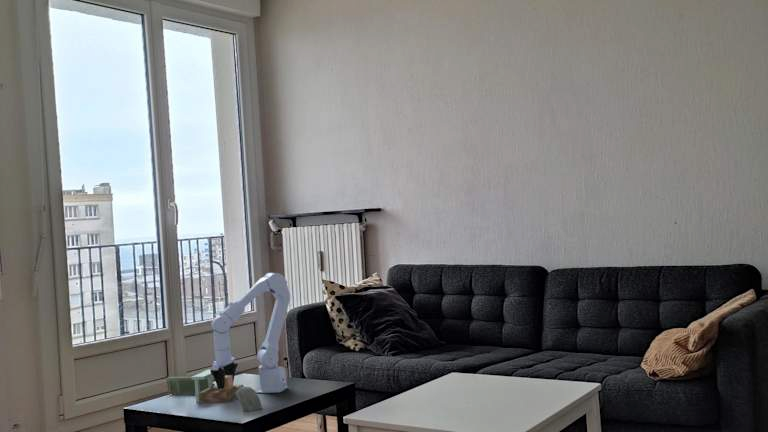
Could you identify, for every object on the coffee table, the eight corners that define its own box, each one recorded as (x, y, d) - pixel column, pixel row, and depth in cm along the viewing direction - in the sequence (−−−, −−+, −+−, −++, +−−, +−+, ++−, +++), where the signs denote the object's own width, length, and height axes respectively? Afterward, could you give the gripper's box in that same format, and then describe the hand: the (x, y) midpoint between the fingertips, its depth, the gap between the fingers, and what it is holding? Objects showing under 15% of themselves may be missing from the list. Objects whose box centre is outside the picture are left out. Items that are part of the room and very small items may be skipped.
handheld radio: (172, 392, 311) (227, 392, 302) (167, 395, 308) (223, 395, 299) (170, 376, 311) (225, 375, 302) (165, 378, 308) (221, 377, 299)
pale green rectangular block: (222, 394, 299) (220, 369, 299) (206, 402, 286) (203, 376, 286) (210, 394, 300) (208, 369, 300) (193, 403, 288) (191, 376, 288)
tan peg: (234, 396, 293) (232, 375, 293) (229, 399, 289) (227, 377, 289) (224, 397, 294) (222, 375, 294) (219, 399, 290) (217, 377, 290)
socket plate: (243, 393, 296) (243, 384, 296) (229, 401, 285) (228, 392, 285) (214, 394, 299) (213, 385, 299) (199, 402, 288) (198, 393, 288)
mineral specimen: (244, 404, 275) (246, 381, 275) (263, 411, 271) (266, 388, 270) (229, 409, 269) (232, 386, 268) (249, 416, 265) (251, 392, 264)
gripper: (221, 345, 299) (224, 381, 299) (203, 353, 285) (206, 390, 285) (238, 345, 298) (241, 381, 298) (221, 352, 284) (224, 390, 284)
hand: (225, 386), depth 291 cm, fingers open, 7 cm apart
